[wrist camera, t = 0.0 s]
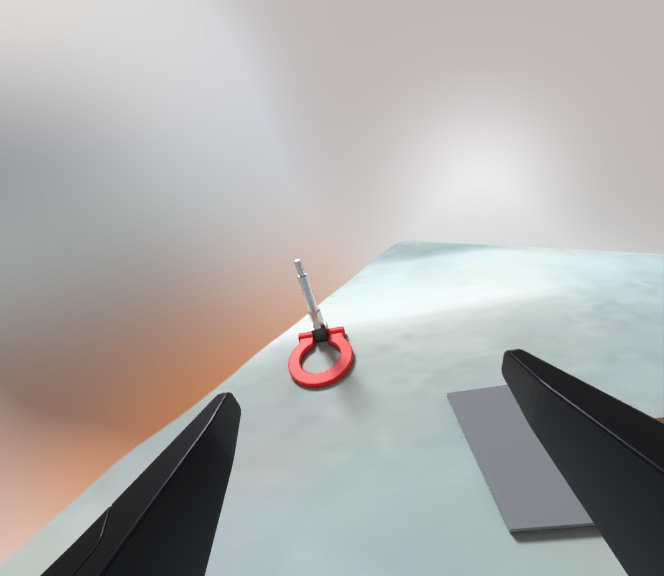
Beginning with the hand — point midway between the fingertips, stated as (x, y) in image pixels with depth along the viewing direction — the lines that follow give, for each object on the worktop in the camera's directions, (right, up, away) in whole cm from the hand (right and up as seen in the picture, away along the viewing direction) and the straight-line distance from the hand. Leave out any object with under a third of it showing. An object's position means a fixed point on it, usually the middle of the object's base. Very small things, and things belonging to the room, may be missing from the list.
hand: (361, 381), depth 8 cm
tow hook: (-2, -6, +25) cm, 26 cm away
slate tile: (+15, -9, +12) cm, 21 cm away
